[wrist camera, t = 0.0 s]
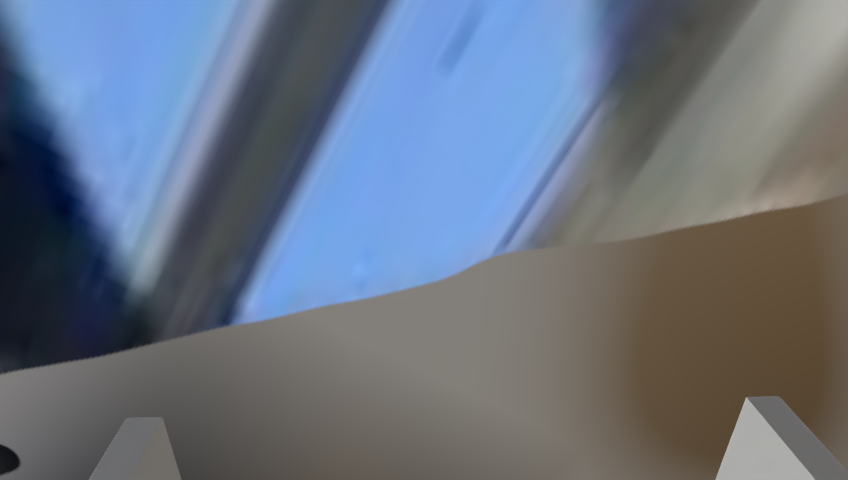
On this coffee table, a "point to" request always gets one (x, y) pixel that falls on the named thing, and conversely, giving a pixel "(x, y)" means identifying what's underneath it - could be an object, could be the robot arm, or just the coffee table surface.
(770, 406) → the robot arm
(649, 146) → the coffee table surface
